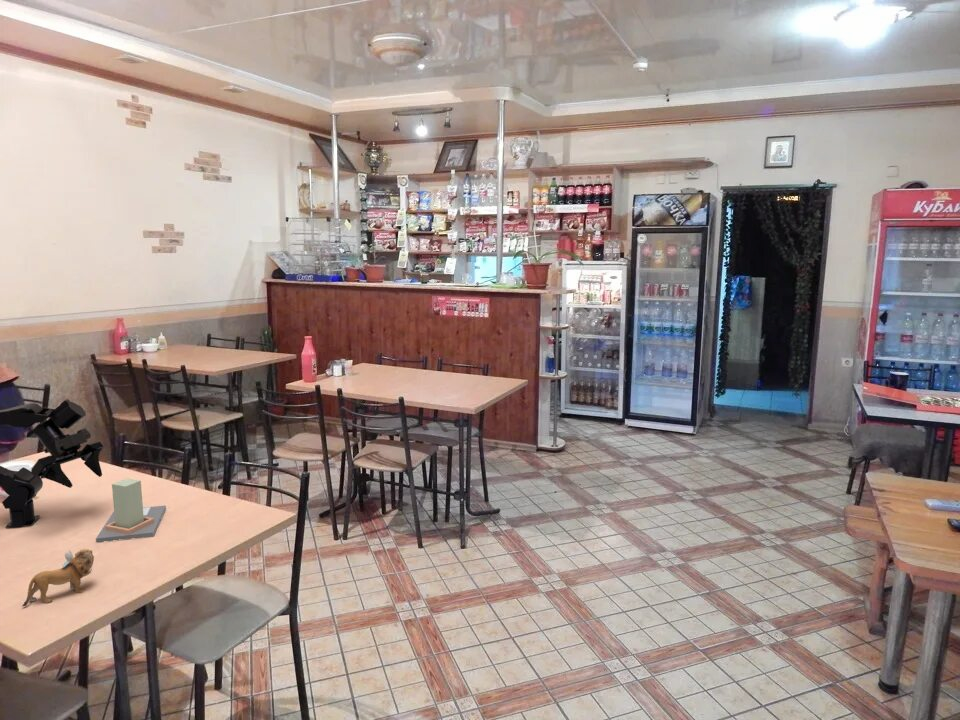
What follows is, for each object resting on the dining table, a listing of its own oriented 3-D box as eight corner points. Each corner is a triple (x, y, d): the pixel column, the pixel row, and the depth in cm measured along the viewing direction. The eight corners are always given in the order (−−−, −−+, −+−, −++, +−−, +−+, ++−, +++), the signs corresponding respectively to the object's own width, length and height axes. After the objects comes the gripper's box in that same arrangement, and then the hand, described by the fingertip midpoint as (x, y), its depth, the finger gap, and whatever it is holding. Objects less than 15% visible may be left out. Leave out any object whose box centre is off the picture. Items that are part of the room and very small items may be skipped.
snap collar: (105, 529, 173) (104, 525, 172) (131, 517, 181) (130, 513, 180) (129, 534, 170) (128, 530, 170) (154, 522, 178) (154, 518, 178)
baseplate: (114, 514, 186) (114, 509, 186) (166, 509, 190) (165, 504, 190) (96, 542, 167) (95, 537, 167) (153, 536, 172) (153, 531, 171)
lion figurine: (91, 578, 149) (88, 543, 148) (100, 585, 146) (97, 550, 144) (18, 604, 138) (14, 567, 136) (26, 613, 134) (22, 575, 133)
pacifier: (90, 563, 157) (62, 569, 153) (89, 540, 156) (61, 545, 152) (92, 576, 151) (63, 582, 147) (91, 552, 150) (61, 557, 146)
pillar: (115, 528, 174) (111, 484, 172) (130, 521, 178) (127, 478, 176) (129, 530, 172) (125, 486, 170) (144, 523, 177) (140, 480, 175)
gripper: (34, 430, 165) (68, 475, 164) (96, 414, 183) (128, 454, 181) (16, 455, 169) (49, 499, 167) (79, 437, 187) (110, 476, 185)
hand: (86, 481), depth 175 cm, fingers open, 9 cm apart
